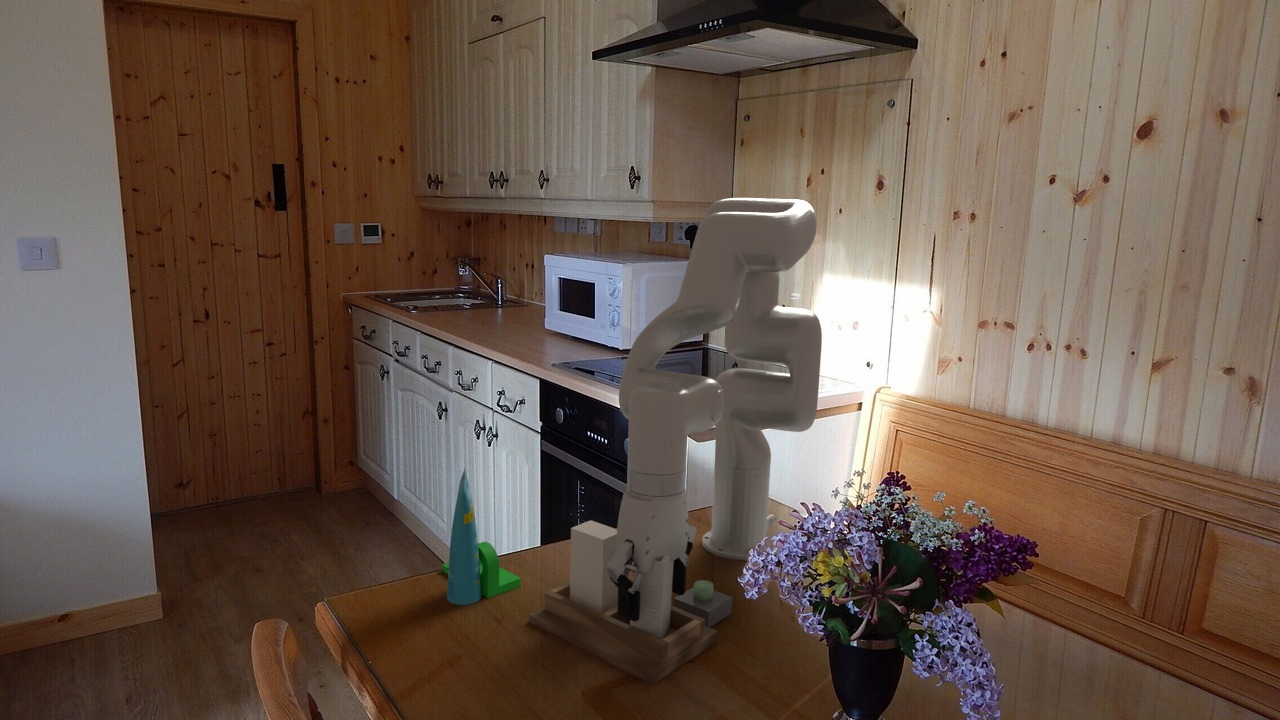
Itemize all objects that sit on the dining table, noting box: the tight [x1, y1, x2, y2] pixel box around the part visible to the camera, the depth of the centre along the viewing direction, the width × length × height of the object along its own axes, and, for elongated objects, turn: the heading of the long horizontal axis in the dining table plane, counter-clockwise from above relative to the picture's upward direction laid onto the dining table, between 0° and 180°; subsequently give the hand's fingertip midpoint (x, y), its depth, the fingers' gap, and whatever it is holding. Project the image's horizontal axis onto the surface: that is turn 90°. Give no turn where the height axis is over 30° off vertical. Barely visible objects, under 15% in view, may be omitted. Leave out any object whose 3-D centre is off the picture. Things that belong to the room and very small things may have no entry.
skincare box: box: [630, 554, 674, 639], centre depth 109 cm, size 6×4×12 cm
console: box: [673, 586, 733, 628], centre depth 119 cm, size 6×6×2 cm
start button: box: [693, 579, 714, 602], centre depth 119 cm, size 3×3×2 cm
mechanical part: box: [441, 541, 522, 599], centre depth 126 cm, size 12×6×8 cm, turn 46°
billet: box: [569, 519, 618, 613], centre depth 115 cm, size 4×6×12 cm, turn 51°
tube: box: [446, 466, 482, 606], centre depth 119 cm, size 7×5×19 cm, turn 16°
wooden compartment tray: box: [528, 580, 719, 685], centre depth 113 cm, size 14×22×4 cm, turn 51°
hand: (652, 604), depth 109 cm, fingers open, 9 cm apart
